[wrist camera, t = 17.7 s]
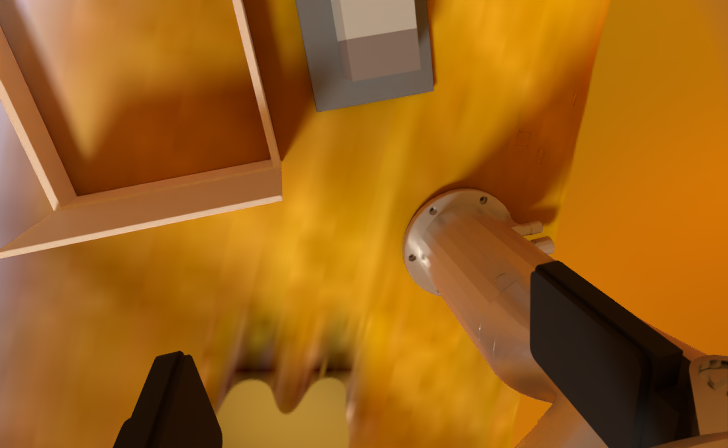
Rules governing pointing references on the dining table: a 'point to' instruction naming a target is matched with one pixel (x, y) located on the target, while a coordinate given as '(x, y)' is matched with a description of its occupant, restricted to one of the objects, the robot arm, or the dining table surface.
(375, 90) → the slate mat
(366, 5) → the box
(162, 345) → the dining table surface
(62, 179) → the carton
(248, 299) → the dining table surface
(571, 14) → the dining table surface
